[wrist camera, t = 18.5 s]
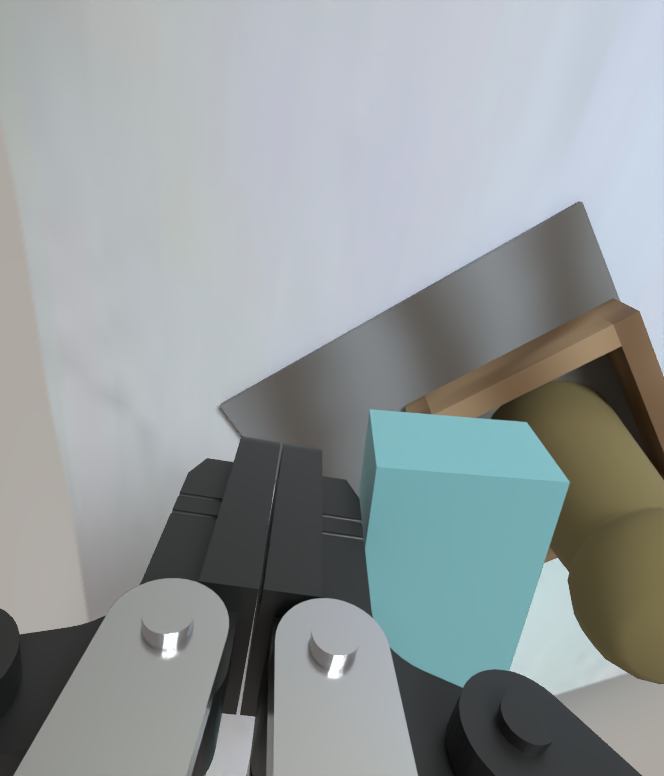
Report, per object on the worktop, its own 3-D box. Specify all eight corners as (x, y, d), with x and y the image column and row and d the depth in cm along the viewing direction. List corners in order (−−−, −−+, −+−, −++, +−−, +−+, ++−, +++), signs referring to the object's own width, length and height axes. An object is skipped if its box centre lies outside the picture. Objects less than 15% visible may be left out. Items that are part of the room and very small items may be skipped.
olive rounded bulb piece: (644, 414, 23) (878, 608, 13) (561, 512, 25) (707, 742, 15) (533, 357, 22) (695, 520, 12) (457, 464, 24) (540, 677, 14)
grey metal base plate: (578, 201, 20) (607, 206, 18) (681, 468, 25) (713, 496, 23) (221, 403, 24) (209, 427, 21) (370, 601, 28) (373, 637, 26)
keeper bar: (423, 842, 16) (435, 933, 14) (304, 835, 15) (300, 925, 14) (542, 423, 10) (588, 483, 8) (353, 408, 10) (356, 465, 8)
